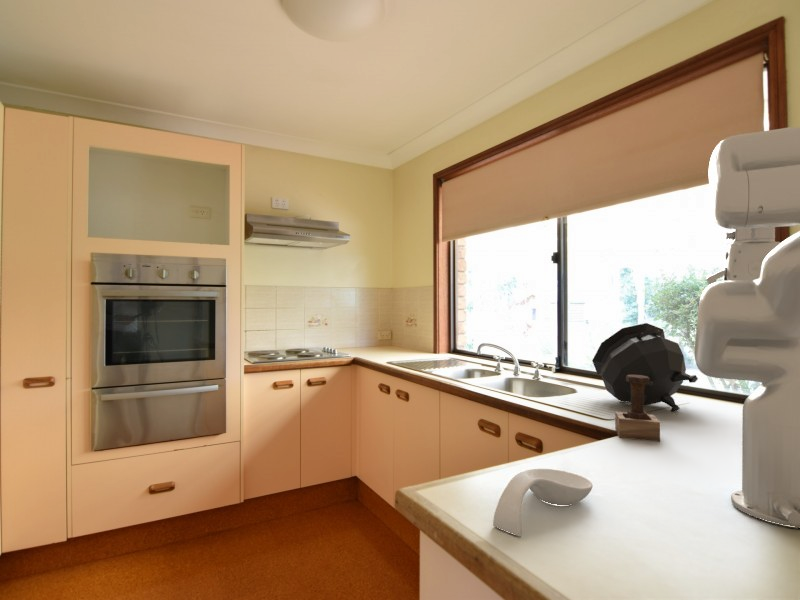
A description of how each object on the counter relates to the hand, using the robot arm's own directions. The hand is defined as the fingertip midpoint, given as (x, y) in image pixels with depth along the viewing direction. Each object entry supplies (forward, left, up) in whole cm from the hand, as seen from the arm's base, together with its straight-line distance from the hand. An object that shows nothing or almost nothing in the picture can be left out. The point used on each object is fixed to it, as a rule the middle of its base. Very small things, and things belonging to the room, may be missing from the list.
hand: (752, 314), depth 99 cm
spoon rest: (-38, +43, -34) cm, 66 cm away
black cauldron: (+54, +12, -34) cm, 65 cm away
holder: (+17, +20, -33) cm, 42 cm away
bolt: (+17, +20, -32) cm, 42 cm away
